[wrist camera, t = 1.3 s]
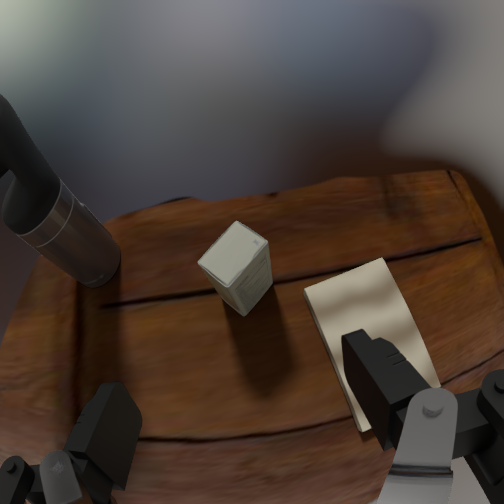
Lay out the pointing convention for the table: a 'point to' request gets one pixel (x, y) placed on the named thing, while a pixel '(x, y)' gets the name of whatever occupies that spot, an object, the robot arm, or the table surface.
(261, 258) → the skincare box
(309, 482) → the table surface
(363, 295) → the birch board
